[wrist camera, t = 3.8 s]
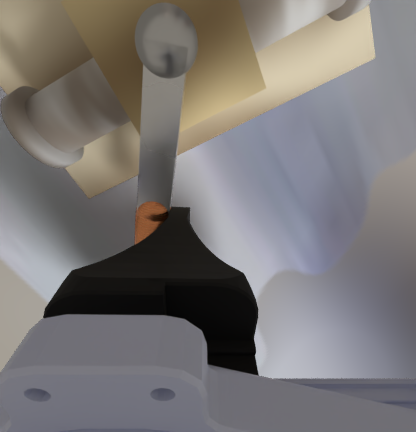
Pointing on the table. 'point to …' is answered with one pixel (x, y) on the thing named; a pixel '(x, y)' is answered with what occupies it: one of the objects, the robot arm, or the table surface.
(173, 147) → the valve lever
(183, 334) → the robot arm
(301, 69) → the valve stand
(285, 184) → the table surface
